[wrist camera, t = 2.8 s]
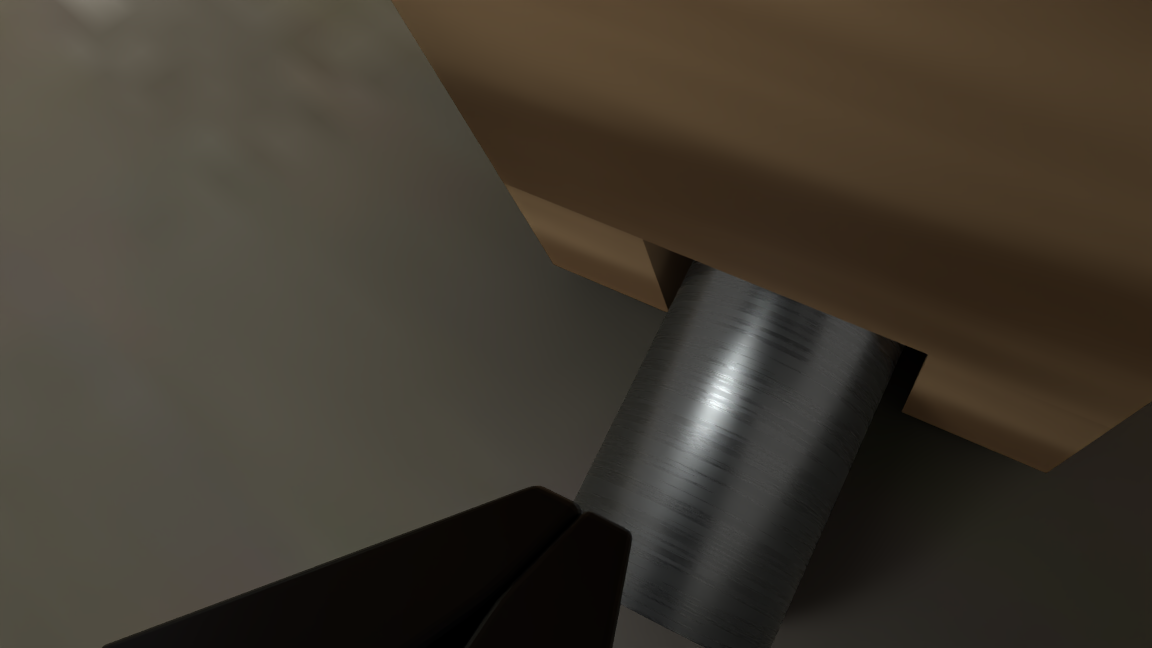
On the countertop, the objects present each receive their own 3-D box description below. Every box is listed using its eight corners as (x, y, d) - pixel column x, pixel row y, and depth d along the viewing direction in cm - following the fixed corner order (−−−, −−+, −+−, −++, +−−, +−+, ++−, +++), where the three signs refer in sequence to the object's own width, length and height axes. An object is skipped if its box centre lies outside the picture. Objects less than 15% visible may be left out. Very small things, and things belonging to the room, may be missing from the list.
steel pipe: (769, 673, 14) (763, 679, 11) (566, 566, 15) (510, 546, 12) (1171, -237, 17) (1253, -425, 14) (979, -278, 18) (1017, -462, 15)
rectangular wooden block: (1045, 472, 14) (1585, 105, 4) (553, 264, 16) (224, -270, 7) (1150, 216, 15) (1802, -566, 5) (665, 51, 17) (506, -697, 7)
